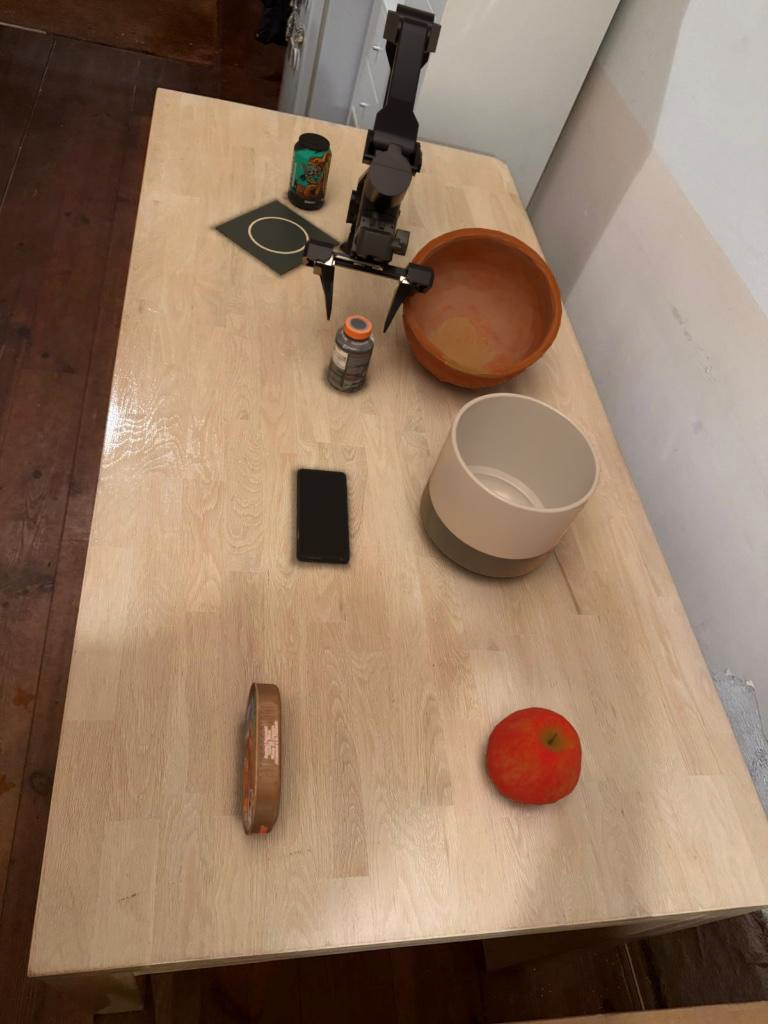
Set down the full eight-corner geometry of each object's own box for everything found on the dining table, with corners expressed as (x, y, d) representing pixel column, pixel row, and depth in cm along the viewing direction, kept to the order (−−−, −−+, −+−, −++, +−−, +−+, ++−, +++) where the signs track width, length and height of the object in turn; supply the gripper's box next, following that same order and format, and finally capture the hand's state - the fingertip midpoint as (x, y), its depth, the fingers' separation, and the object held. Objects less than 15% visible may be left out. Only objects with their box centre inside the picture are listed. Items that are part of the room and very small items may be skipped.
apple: (576, 799, 85) (619, 770, 76) (498, 826, 81) (535, 798, 73) (538, 715, 90) (574, 679, 82) (463, 736, 86) (493, 701, 78)
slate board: (276, 201, 142) (276, 199, 142) (339, 244, 138) (339, 242, 138) (215, 228, 133) (215, 226, 133) (281, 275, 129) (281, 273, 129)
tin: (245, 700, 83) (251, 668, 76) (273, 700, 84) (282, 669, 77) (240, 844, 74) (247, 822, 67) (272, 843, 75) (282, 821, 68)
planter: (438, 597, 97) (482, 518, 83) (398, 481, 107) (432, 394, 93) (565, 580, 103) (626, 504, 89) (516, 472, 113) (564, 389, 100)
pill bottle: (365, 371, 119) (381, 315, 110) (361, 396, 116) (377, 341, 107) (329, 362, 119) (342, 305, 110) (324, 388, 115) (336, 331, 106)
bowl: (375, 390, 123) (386, 350, 108) (407, 260, 129) (422, 206, 115) (518, 427, 124) (548, 393, 110) (543, 297, 131) (574, 249, 116)
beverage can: (316, 216, 142) (326, 156, 133) (282, 203, 142) (289, 142, 133) (328, 199, 147) (338, 139, 137) (294, 186, 147) (303, 126, 137)
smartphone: (296, 558, 94) (297, 467, 103) (296, 561, 95) (296, 471, 104) (350, 561, 96) (346, 471, 105) (349, 564, 96) (345, 475, 105)
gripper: (315, 183, 97) (292, 302, 98) (452, 217, 100) (428, 333, 101) (313, 208, 108) (292, 315, 109) (436, 238, 111) (415, 343, 112)
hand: (356, 326), depth 108 cm, fingers open, 8 cm apart
